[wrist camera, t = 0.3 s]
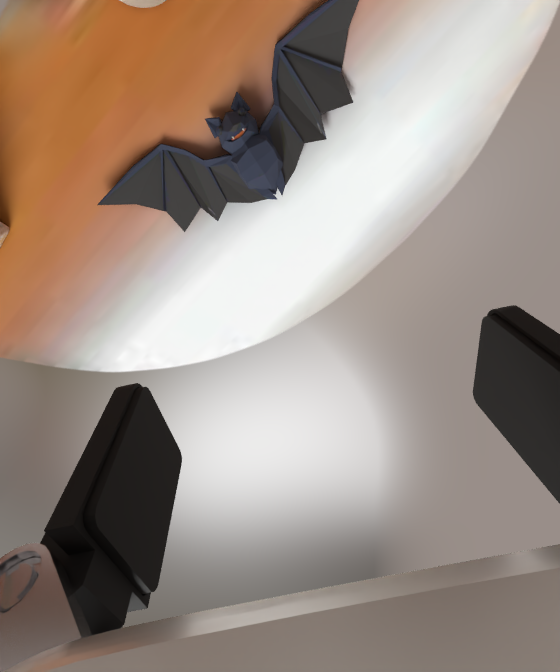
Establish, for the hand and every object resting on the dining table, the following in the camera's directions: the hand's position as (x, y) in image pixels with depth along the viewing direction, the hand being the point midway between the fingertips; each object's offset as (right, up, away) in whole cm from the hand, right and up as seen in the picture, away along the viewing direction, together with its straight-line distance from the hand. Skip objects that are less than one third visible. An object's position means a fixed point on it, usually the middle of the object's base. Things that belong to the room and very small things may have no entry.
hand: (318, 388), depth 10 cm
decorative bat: (-4, +20, +24) cm, 31 cm away
